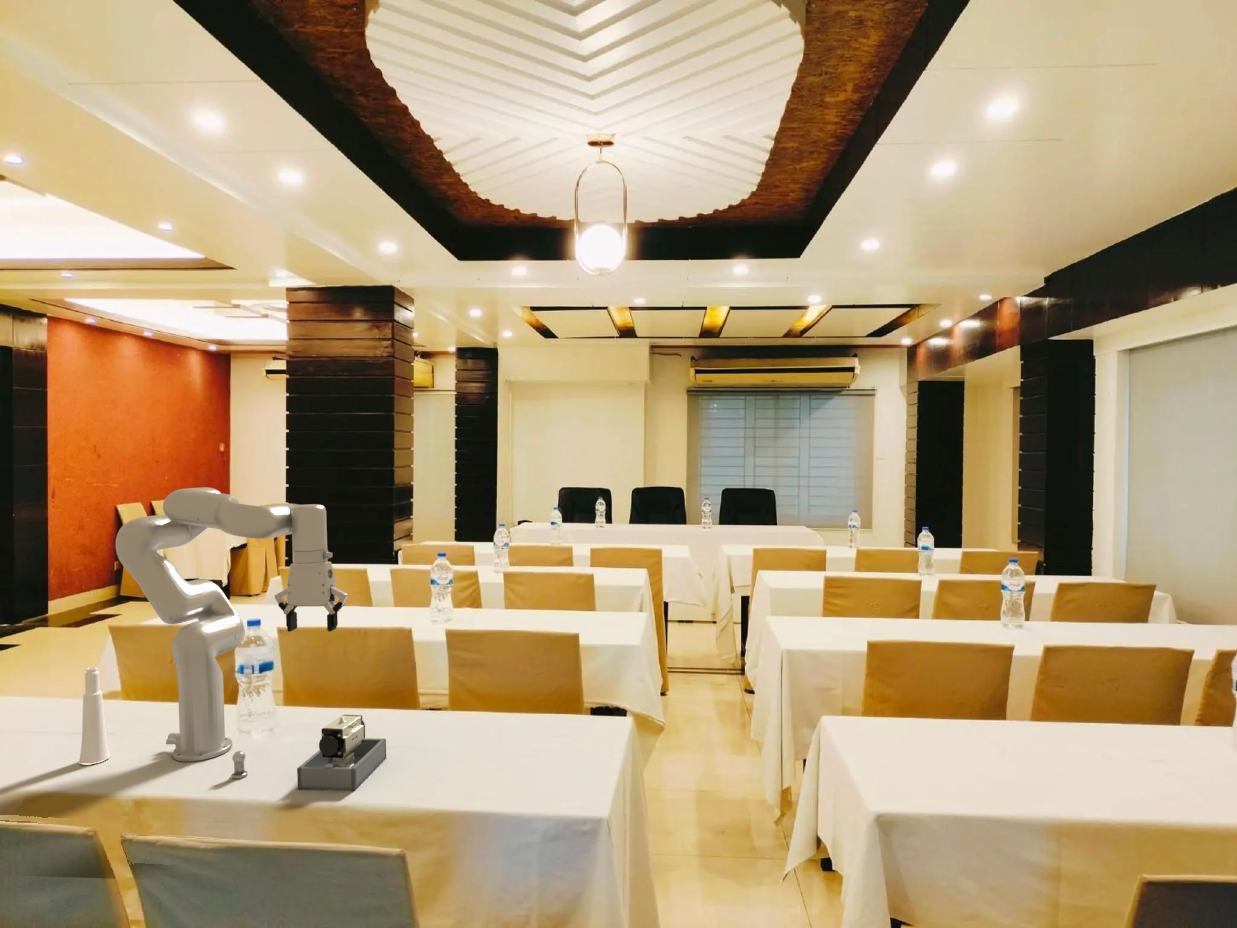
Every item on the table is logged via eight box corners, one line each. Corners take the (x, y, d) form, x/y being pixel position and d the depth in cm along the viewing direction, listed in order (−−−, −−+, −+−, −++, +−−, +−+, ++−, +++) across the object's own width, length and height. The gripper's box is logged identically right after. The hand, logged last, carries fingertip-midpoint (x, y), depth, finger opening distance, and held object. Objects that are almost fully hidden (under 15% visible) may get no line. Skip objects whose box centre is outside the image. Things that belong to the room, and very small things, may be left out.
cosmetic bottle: (109, 761, 173) (106, 669, 172) (77, 768, 170) (74, 673, 169) (111, 753, 178) (108, 663, 178) (80, 758, 175) (77, 667, 175)
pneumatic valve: (319, 781, 159) (317, 726, 158) (348, 758, 170) (346, 707, 170) (342, 782, 158) (341, 727, 157) (370, 760, 169) (368, 708, 169)
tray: (297, 789, 156) (297, 768, 156) (334, 757, 173) (334, 737, 173) (354, 790, 155) (354, 769, 155) (386, 758, 172) (385, 738, 172)
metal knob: (228, 779, 162) (227, 754, 162) (237, 773, 165) (236, 748, 165) (242, 779, 162) (241, 754, 162) (250, 773, 165) (249, 748, 165)
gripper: (352, 554, 175) (354, 626, 175) (283, 555, 176) (285, 626, 176) (338, 559, 167) (340, 634, 167) (265, 559, 169) (267, 634, 169)
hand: (312, 630), depth 172 cm, fingers open, 9 cm apart
